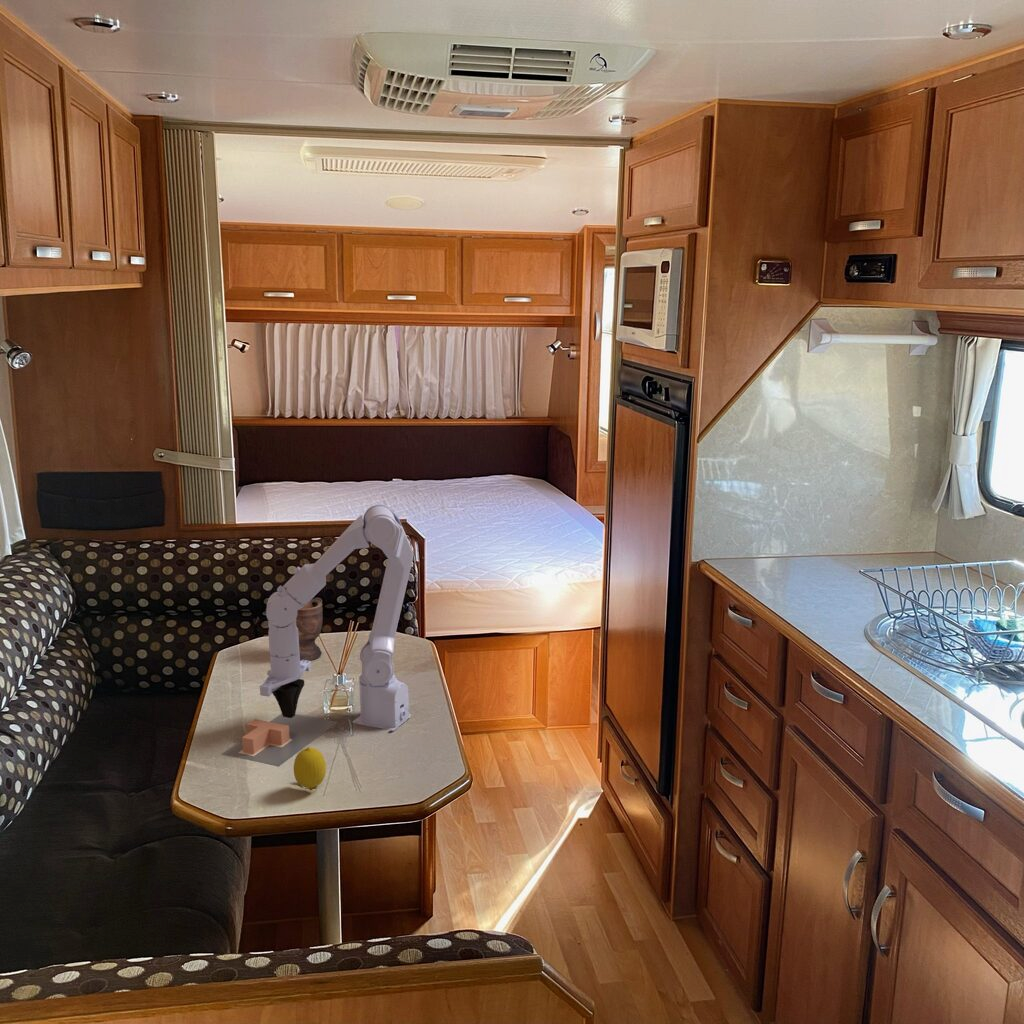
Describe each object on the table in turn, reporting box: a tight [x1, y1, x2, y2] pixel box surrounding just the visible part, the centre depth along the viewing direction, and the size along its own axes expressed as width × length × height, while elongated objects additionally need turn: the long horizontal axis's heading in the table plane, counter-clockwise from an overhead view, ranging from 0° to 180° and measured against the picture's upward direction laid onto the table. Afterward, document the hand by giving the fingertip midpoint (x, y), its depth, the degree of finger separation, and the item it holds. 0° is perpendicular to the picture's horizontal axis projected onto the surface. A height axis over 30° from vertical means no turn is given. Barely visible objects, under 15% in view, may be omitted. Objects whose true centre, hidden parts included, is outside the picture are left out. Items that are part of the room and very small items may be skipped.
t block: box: [241, 718, 290, 754], centre depth 186 cm, size 8×8×3 cm
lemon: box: [293, 746, 327, 791], centre depth 170 cm, size 6×6×8 cm
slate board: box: [221, 713, 339, 767], centre depth 189 cm, size 13×20×1 cm, turn 158°
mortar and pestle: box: [296, 598, 324, 661], centre depth 232 cm, size 12×9×20 cm
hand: (288, 716), depth 194 cm, fingers closed
